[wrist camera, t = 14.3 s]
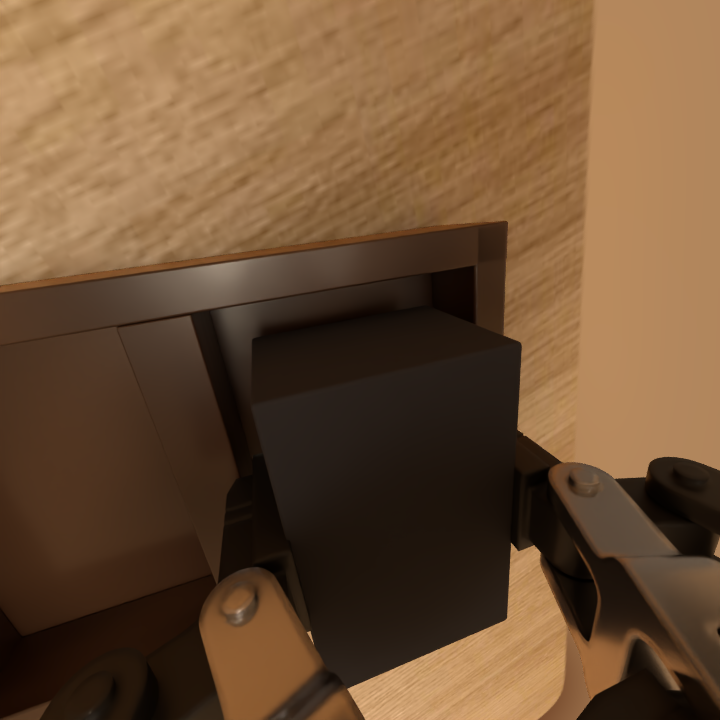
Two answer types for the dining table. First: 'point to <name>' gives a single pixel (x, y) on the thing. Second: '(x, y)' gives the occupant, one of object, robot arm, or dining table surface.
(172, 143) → the dining table surface
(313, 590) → the dark brown rectangular block
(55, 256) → the dining table surface
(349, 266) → the divided wooden tray
